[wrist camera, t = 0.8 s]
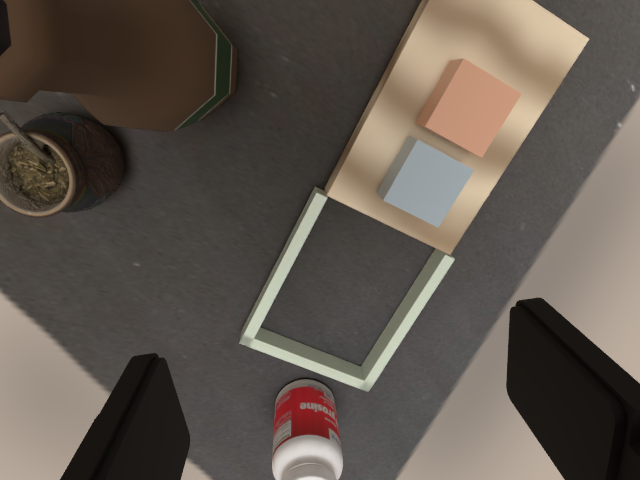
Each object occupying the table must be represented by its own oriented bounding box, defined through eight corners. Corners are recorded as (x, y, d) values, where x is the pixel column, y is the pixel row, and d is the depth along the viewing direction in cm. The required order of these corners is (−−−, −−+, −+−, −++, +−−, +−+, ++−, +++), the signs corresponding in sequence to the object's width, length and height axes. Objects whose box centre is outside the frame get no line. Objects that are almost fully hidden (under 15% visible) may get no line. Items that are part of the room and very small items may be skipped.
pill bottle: (346, 396, 44) (364, 493, 33) (308, 433, 45) (313, 536, 35) (301, 366, 42) (305, 458, 32) (262, 405, 43) (254, 505, 33)
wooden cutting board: (443, -42, 30) (455, -52, 28) (568, 42, 33) (589, 38, 31) (324, 188, 36) (326, 195, 33) (440, 244, 38) (449, 254, 36)
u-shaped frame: (314, 186, 36) (316, 192, 34) (446, 249, 39) (454, 259, 37) (241, 330, 40) (239, 343, 38) (364, 377, 43) (368, 391, 41)
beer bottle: (161, -15, 30) (-226, -322, 7) (260, 44, 32) (189, -57, 9) (122, 86, 32) (-272, 87, 9) (216, 136, 34) (72, 238, 11)
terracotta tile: (450, 60, 31) (463, 58, 28) (504, 93, 32) (521, 93, 29) (415, 123, 32) (425, 126, 30) (468, 152, 33) (481, 157, 31)
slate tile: (408, 135, 32) (417, 139, 30) (461, 164, 33) (474, 170, 31) (376, 192, 34) (383, 200, 31) (428, 218, 35) (438, 227, 32)
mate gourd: (54, 205, 35) (-35, 247, 25) (25, 110, 32) (-85, 117, 23) (141, 197, 35) (86, 236, 26) (120, 102, 32) (49, 106, 23)
